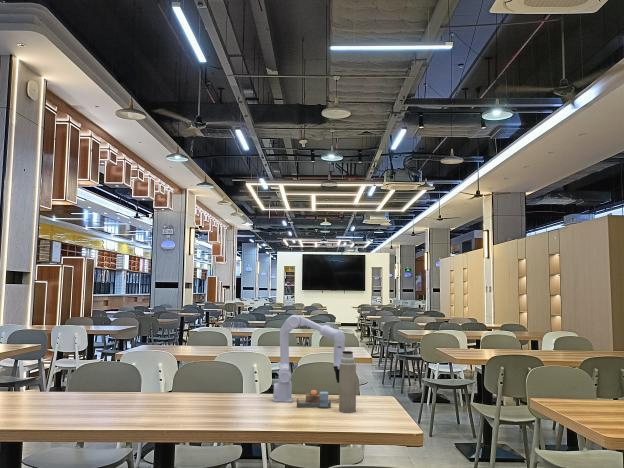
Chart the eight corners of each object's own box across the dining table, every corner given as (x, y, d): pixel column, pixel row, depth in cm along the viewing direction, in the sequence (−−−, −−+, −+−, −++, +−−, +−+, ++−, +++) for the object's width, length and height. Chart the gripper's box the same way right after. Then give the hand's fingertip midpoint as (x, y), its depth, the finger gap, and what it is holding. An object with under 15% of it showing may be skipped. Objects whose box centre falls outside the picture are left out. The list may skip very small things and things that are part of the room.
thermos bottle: (356, 409, 271) (357, 350, 273) (354, 413, 263) (355, 352, 266) (340, 408, 272) (340, 350, 275) (337, 412, 264) (338, 351, 267)
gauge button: (310, 398, 285) (310, 391, 286) (310, 397, 288) (310, 390, 289) (316, 398, 285) (316, 391, 286) (316, 397, 288) (316, 390, 289)
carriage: (319, 406, 273) (320, 393, 274) (319, 404, 278) (319, 391, 279) (328, 406, 273) (328, 393, 274) (327, 404, 278) (328, 391, 279)
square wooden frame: (305, 404, 282) (305, 395, 283) (305, 400, 290) (305, 393, 291) (321, 404, 282) (321, 396, 283) (321, 401, 290) (321, 393, 291)
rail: (296, 407, 274) (296, 399, 274) (296, 406, 277) (296, 398, 277) (330, 407, 274) (330, 400, 274) (330, 406, 277) (330, 399, 277)
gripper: (347, 356, 286) (347, 383, 284) (346, 353, 300) (345, 379, 299) (333, 356, 286) (333, 383, 284) (332, 353, 300) (332, 379, 299)
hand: (338, 381), depth 291 cm, fingers open, 7 cm apart
